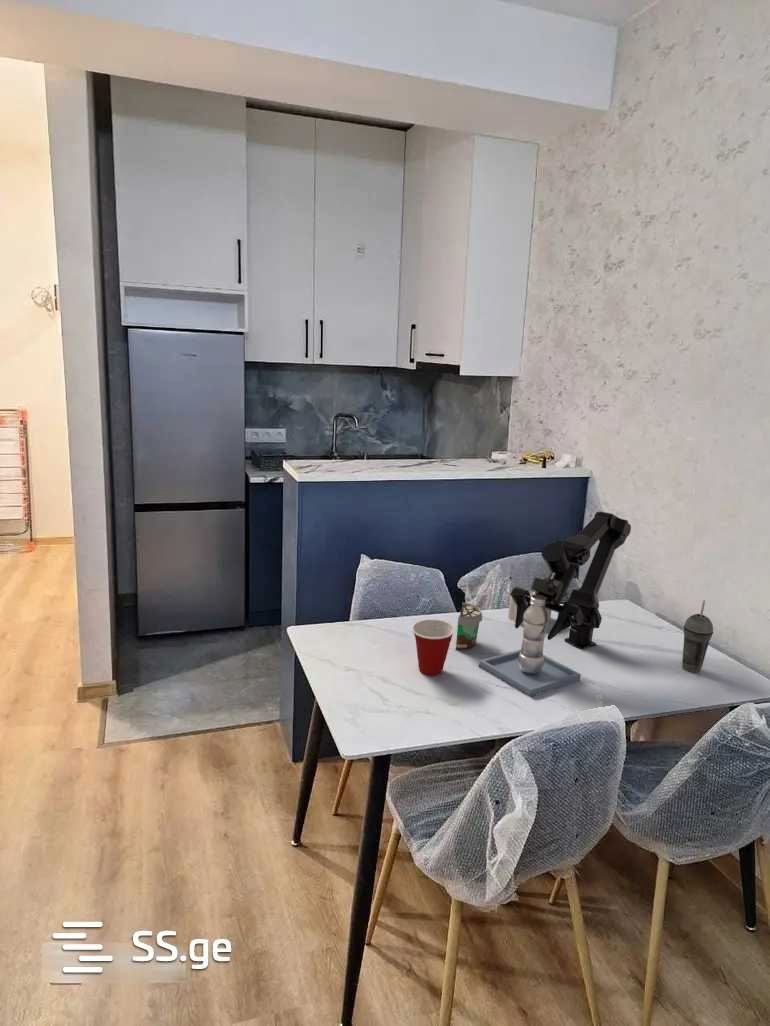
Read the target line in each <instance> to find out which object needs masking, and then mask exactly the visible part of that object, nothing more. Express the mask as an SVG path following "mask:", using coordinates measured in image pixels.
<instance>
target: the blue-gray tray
mask: <svg viewBox="0 0 770 1026" xmlns="http://www.w3.org/2000/svg"><path fill="white" fill-rule="evenodd" d="M520 652H521V648H520V649H517V650H512V651H510V652H506V653H502V654H498V655H494V656H490V657H487V658H483V659H479V661H478V662H479V663H478V667H479V668H480V669H481V670H484V671H486V672H487V673H488V672H489V674H490V675H491V676H494V677H495V678H497V679H498V678H499V680H500V679H501V680H500V681H501V682H504V683H505V682H506V683H505V684H507V685H509V686H510V685H511V687H513V688H514V689H515V688H516V689H515V690H517V691H519V692H520V691H521V693H522V692H523V695H525V694H526V696H527V695H528V696H527V697H529V698H530V696H531V697H534V696H537V695H536V694H538V695H540V694H539V693H541V694H543V692H544V693H547V692H549V690H550V691H552V689H553V690H555V688H556V689H558V688H561V687H565V686H567V685H572V684H574V683H576V682H580V681H581V676H582V674H581V673H580V672H578V671H575V670H574V669H571V667H568V666H566V665H564V664H562V663H560V662H559V661H556V660H554V659H553V658H551V657H549V656H547V655H544V654H543V657H544V665H543V668H542V670H541V671H540V672H539V673H537V674H529V673H525V672H523V671H522V670H520V668H519V666H518V658H519V654H520ZM546 691H547V692H546ZM533 695H534V696H533Z"/></svg>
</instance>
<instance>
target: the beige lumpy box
mask: <svg viewBox="0 0 770 1026" xmlns="http://www.w3.org/2000/svg"><path fill="white" fill-rule="evenodd" d="M525 589H526V590H528V591H529V593H530V595H531V596H532V595H536V594H535V591H531V590H529V589H527V588H525ZM545 610H546V611H547V613H548V617H549V621H548V624H549V623H550V622H551V619H552V618H551V617H552V610H549V609H546V608H545ZM516 614H517V605H516V604H515V602H514V600H513V598H512V597H511V595H510V597H509V606H508V614H507V619H508V618H509V619H508V620H510V621H512V620H513V621H512V622H514V623H515V621H516ZM519 627H523V622H522V623H521V625H520V626H519Z"/></svg>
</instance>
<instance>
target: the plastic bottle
mask: <svg viewBox="0 0 770 1026" xmlns="http://www.w3.org/2000/svg"><path fill="white" fill-rule="evenodd" d="M545 600H546V598H545V597H544V596H541V595H532V596H531V601H530V604H531V605H530V606H529V607H528V608H527V609H526V611H525V612H524V615H523V626H522V627H523V633H522V642H521V648H520V649H521V652H520V654H519V658H518V666H519V668H520V670H522V671H523V672H525V673H529V674H537V673H539V672H540V671H541V670H542V668H543V665H544V657H543V655H544V643H545V637H546V633H547V632H546V631H547V628H548V624H549V623H548V621H549V617H548V613H547V611H546V610H545V608H544V606H545Z"/></svg>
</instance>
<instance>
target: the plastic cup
mask: <svg viewBox="0 0 770 1026" xmlns="http://www.w3.org/2000/svg"><path fill="white" fill-rule="evenodd" d="M411 629H412V630H411V632H412V633H413V634H414V639H415V646H416V655H417V662H418V663H417V664H418V670H419V672H420V673H421V674H423V675H425V676H431V677H435V676H439V675H441V674H442V672H443V670H444V667H445V662H446V660H447V656H448V652H449V648H450V645H451V642H452V638H453V636H454V633H455V631H456V628H455V625H454V624H452V623H451V622H448V621H446V620H442V619H437V618H436V619H434V618H432V619H431V618H429V619H428V618H427V619H426V618H425V619H422V620H418V621H417V622H415V623H413V625H412V626H411Z"/></svg>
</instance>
